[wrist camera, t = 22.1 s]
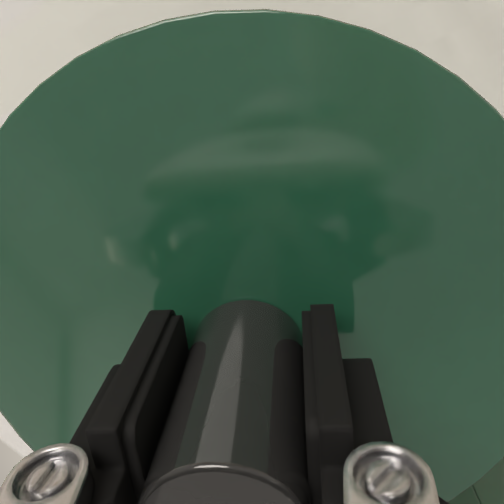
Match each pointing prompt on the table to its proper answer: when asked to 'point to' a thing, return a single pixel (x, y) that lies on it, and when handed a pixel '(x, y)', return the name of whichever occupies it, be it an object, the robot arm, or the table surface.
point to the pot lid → (256, 244)
